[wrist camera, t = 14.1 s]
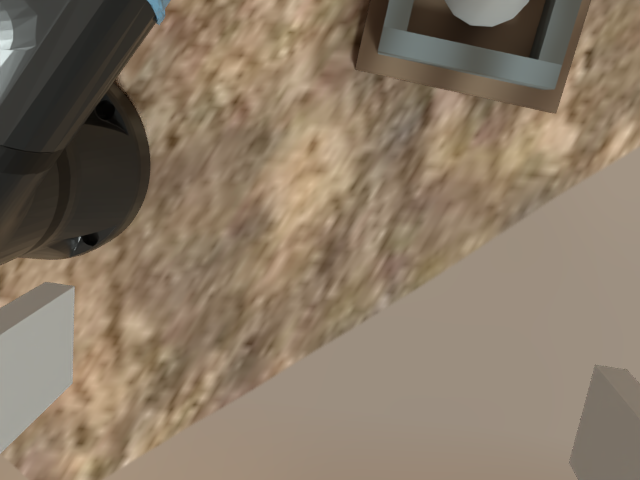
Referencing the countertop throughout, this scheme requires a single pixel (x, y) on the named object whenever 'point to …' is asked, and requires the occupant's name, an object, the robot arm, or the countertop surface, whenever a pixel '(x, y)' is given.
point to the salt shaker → (485, 10)
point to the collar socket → (475, 49)
